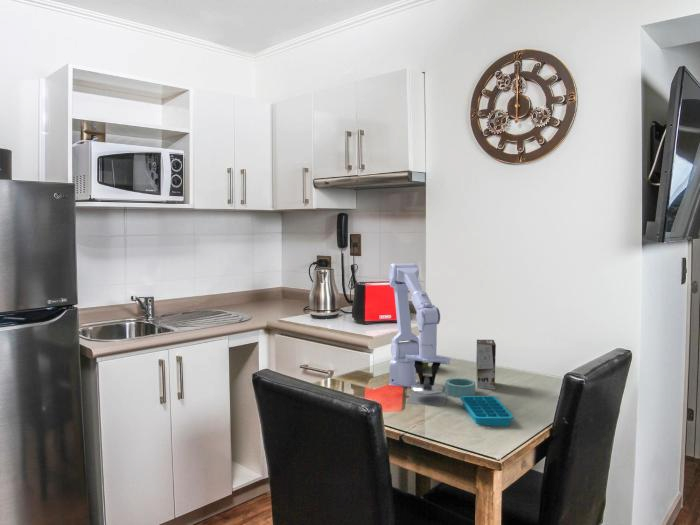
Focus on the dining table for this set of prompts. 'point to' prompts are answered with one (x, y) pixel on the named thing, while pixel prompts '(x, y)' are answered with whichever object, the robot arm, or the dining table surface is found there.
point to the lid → (427, 387)
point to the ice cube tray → (487, 410)
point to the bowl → (460, 387)
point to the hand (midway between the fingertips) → (427, 384)
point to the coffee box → (485, 364)
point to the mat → (427, 399)
